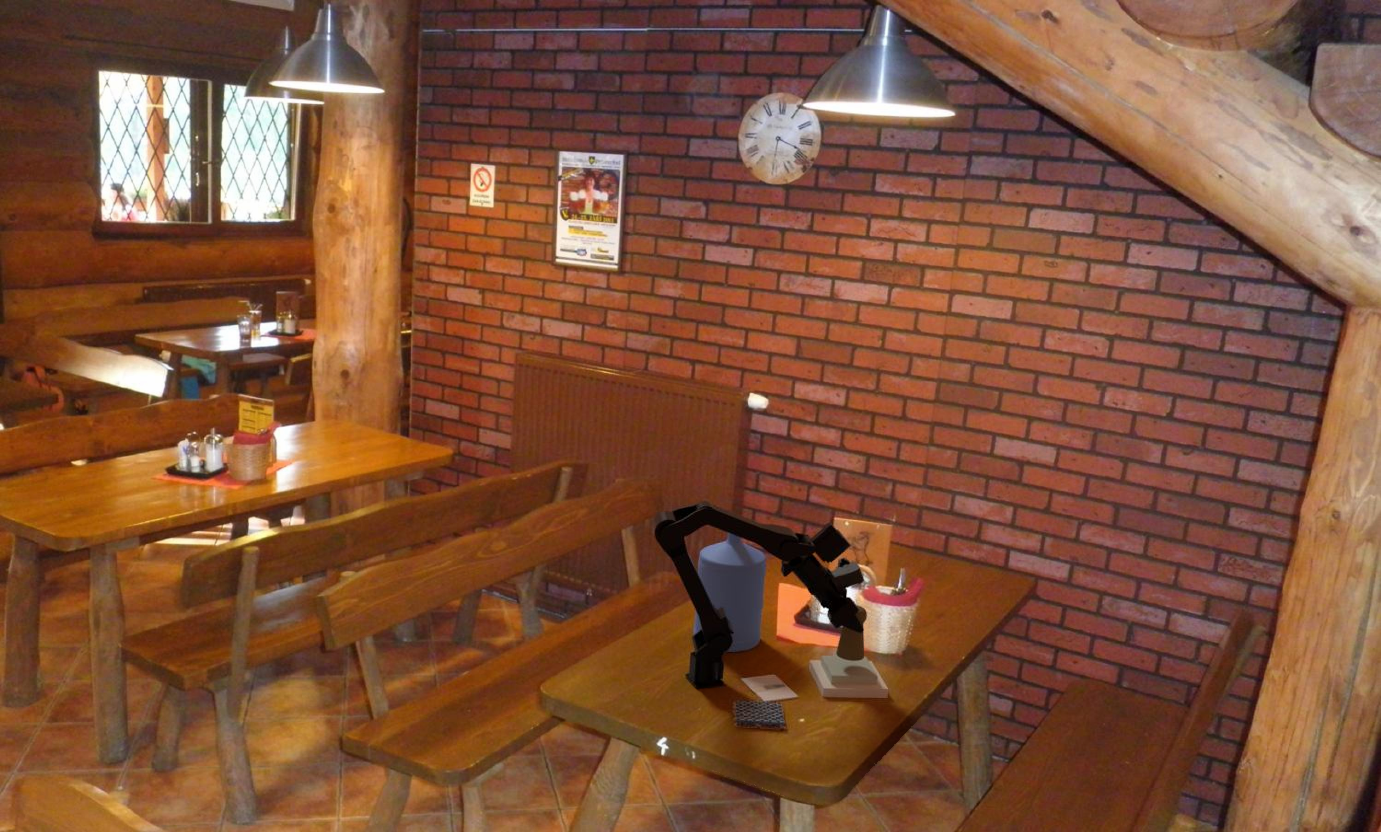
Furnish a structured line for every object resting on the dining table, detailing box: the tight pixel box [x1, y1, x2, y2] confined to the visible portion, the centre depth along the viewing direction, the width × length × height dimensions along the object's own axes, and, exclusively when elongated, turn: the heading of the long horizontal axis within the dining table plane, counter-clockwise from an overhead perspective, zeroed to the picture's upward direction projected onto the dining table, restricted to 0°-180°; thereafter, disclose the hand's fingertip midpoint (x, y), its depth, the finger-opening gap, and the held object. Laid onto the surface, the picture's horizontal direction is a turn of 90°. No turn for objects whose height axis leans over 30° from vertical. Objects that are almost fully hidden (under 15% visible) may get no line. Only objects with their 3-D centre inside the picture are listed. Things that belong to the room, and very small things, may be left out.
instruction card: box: [740, 674, 799, 703], centre depth 250 cm, size 8×11×1 cm
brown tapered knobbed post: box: [835, 604, 868, 661], centre depth 252 cm, size 6×6×11 cm
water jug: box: [692, 532, 767, 653], centre depth 271 cm, size 16×16×28 cm
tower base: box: [808, 655, 889, 699], centre depth 255 cm, size 14×14×4 cm
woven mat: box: [732, 698, 787, 731], centre depth 237 cm, size 10×11×2 cm
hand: (859, 626), depth 252 cm, fingers closed on brown tapered knobbed post, 5 cm apart
